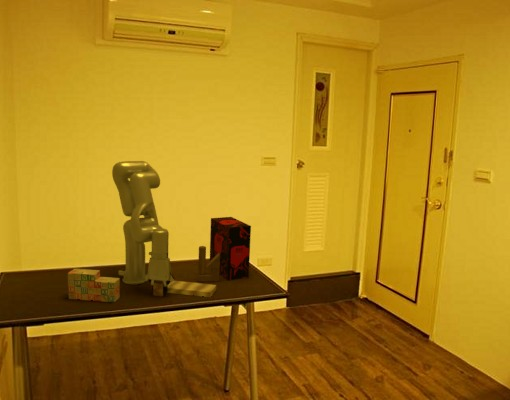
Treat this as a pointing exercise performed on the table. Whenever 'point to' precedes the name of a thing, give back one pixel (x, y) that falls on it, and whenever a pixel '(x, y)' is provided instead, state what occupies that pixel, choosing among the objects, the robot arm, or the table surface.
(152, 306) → the table surface
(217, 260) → the brown angled bracket
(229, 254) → the box
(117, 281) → the stack of blocks
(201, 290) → the board
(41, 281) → the table surface
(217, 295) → the table surface
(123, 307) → the table surface
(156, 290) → the gauge
